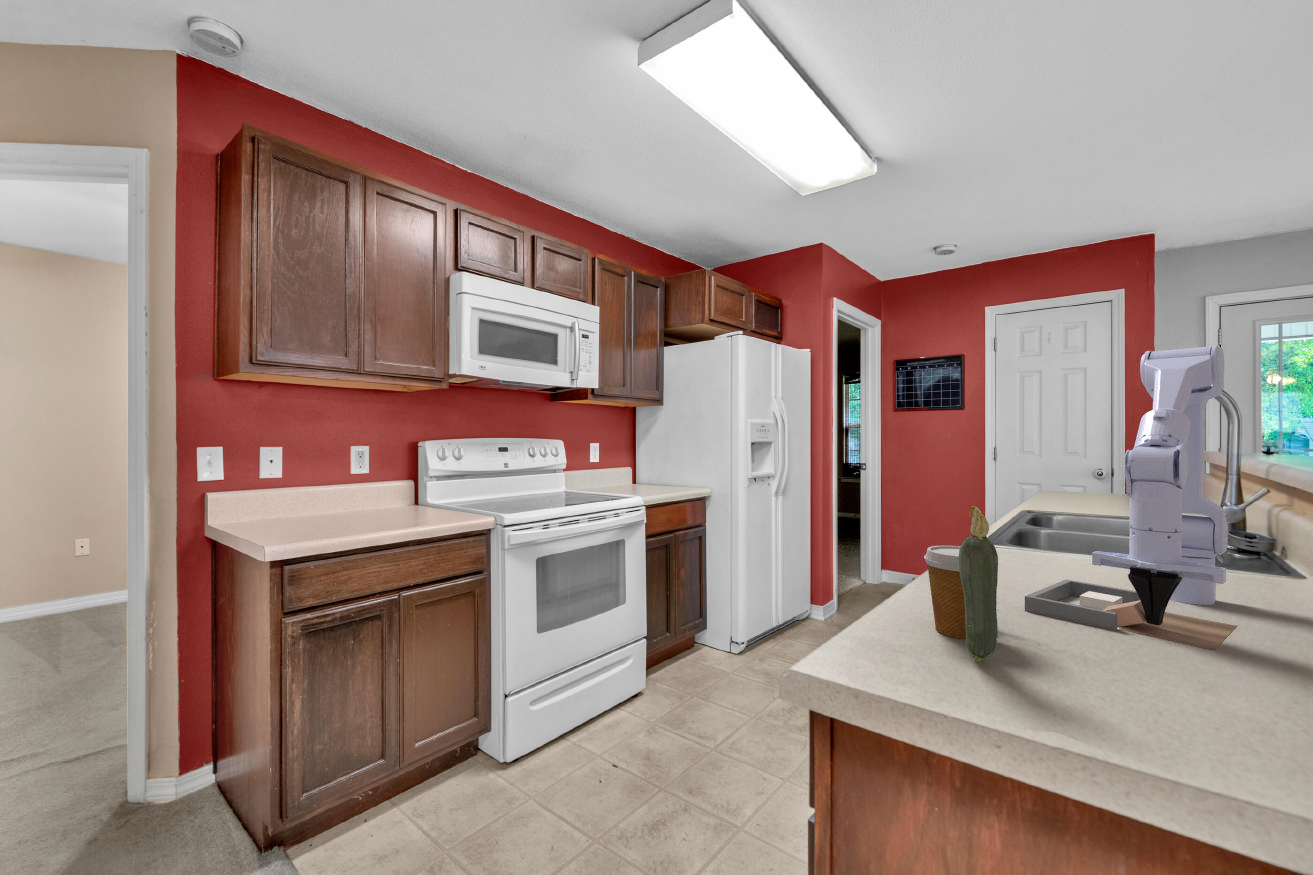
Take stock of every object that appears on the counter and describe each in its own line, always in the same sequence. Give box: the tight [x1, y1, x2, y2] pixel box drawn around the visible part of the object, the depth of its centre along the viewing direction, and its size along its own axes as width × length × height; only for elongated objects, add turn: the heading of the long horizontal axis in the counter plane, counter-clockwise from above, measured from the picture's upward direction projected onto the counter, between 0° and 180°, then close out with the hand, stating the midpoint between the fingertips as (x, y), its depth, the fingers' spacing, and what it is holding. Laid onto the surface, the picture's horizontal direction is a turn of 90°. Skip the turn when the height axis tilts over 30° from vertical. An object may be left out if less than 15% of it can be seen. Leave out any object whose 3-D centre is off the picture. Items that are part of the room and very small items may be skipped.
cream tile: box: [1079, 591, 1122, 610], centre depth 94 cm, size 4×4×2 cm
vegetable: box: [959, 505, 999, 663], centre depth 73 cm, size 4×4×20 cm
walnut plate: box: [1118, 611, 1238, 651], centre depth 84 cm, size 16×10×1 cm, turn 127°
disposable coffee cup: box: [923, 545, 966, 640], centre depth 85 cm, size 10×10×12 cm
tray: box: [1024, 578, 1140, 632], centre depth 92 cm, size 18×12×4 cm, turn 127°
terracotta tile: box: [1103, 600, 1146, 627], centre depth 86 cm, size 4×4×2 cm
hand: (1154, 623), depth 83 cm, fingers closed
